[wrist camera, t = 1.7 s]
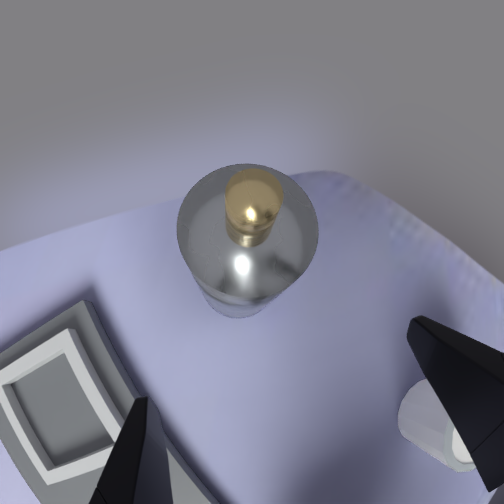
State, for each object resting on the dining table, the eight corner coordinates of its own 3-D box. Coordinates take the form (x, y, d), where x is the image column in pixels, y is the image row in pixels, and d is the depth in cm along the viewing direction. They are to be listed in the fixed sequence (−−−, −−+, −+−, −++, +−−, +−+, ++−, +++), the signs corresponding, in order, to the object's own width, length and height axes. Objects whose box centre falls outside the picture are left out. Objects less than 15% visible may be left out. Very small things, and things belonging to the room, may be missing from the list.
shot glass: (398, 463, 18) (447, 492, 12) (382, 392, 20) (437, 407, 13) (459, 423, 19) (514, 436, 13) (447, 356, 21) (506, 355, 14)
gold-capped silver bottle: (287, 293, 21) (373, 225, 9) (225, 331, 20) (221, 321, 7) (250, 234, 22) (278, 103, 9) (188, 269, 21) (136, 167, 8)
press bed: (238, 523, 16) (240, 541, 14) (105, 561, 14) (96, 576, 11) (91, 302, 20) (75, 297, 18) (-19, 373, 17) (-38, 373, 15)
